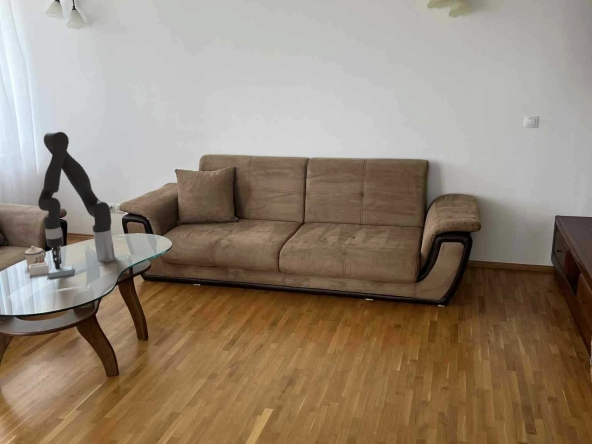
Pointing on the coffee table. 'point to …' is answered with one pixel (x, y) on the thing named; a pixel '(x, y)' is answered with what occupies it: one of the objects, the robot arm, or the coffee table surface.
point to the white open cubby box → (38, 268)
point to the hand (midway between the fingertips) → (58, 266)
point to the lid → (61, 271)
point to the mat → (62, 276)
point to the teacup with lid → (35, 255)
